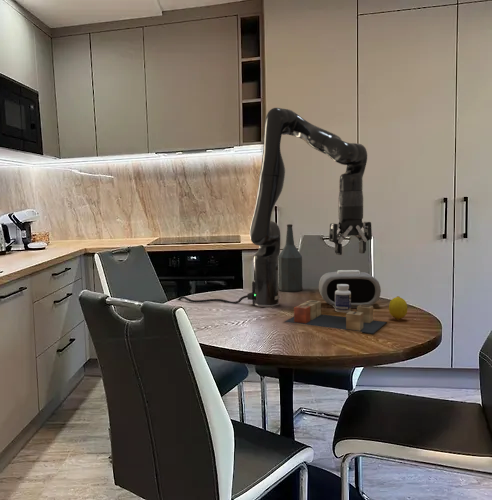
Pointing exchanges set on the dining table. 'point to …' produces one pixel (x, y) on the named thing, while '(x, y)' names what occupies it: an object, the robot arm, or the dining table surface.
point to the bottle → (290, 265)
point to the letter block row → (359, 317)
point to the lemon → (398, 307)
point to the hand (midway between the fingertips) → (350, 254)
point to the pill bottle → (342, 298)
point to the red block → (302, 314)
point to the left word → (313, 308)
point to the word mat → (341, 323)
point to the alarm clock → (350, 287)
